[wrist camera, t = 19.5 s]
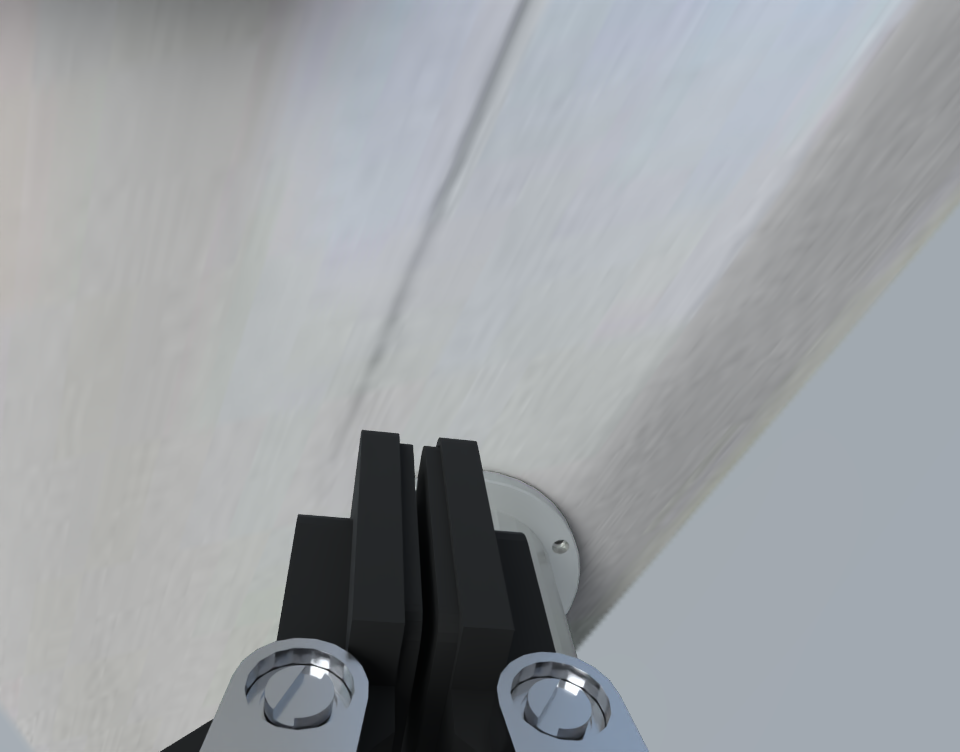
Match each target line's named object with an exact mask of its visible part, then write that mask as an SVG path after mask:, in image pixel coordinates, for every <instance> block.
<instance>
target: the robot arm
mask: <svg viewBox="0 0 960 752" xmlns="http://www.w3.org/2000/svg"><path fill="white" fill-rule="evenodd" d="M579 578H580V561H579V552H578V549H577V546H576V543H575V539H574V536H573V534H572V531H571V529H570V527H569V525H568V523H567V521H566V519H565V517H564V516H563V515H562V513H561V512H560V511H559V510H558V508H557V507H556V506H555V504H554V503H553V502H552V501H550V500H549V499H548V498H547V497H546V496H544V495H543V494H542V493H541V492H540V491H538V490H537V489H535V488H533V487H531V486H529V485H528V484H526V483H524V482H522V481H520V480H518V479H515V478H512V477H509V476H506V475H503V474H499V473H496V472H489V471H483V470H482V465H481V460H480V455H479V450H478V445H477V442H476V441H469V440H459V439H449V438H439V439H438V442H437V445H436V447H431V446H424V447H423V450H422V455H421V461H420V467H419V474H418V478H415V471H414V454H413V445H410V444H400V437H399V434H398V433H388V432H378V431H368V430H362V431H361V438H360V445H359V453H358V461H357V469H356V477H355V485H354V493H353V501H352V509H351V517H350V518H338V517H326V516H313V515H301V514H298V517H297V522H296V528H295V534H294V540H293V546H292V552H291V558H290V564H289V570H288V576H287V582H286V588H285V594H284V600H283V606H282V612H281V618H280V624H279V630H278V636H277V641H275V642H273V643H270V644H268V645H266V646H263V647H261V648H259V649H257V650H255V651H254V652H253V653H252V654H250V655H249V656H248V657H246V658H245V659H244V660H243V661H242V662H241V663H240V665H239V666H238V668H237V669H236V671H235V672H234V674H233V675H232V678H231V680H230V682H229V685H228V687H227V689H226V692H225V694H224V696H223V698H222V701H221V703H220V705H219V708H218V710H217V712H216V715H215V717H214V719H212V720H211V721H209V722H207V723H206V724H204V725H203V726H201V727H199V728H198V729H196V730H195V731H193V732H191V733H190V734H188V735H186V736H185V737H183V738H182V739H180V740H178V741H177V742H175V743H173V744H172V745H170V746H169V747H167V748H165V749H164V750H162V751H160V752H649V751H648V749H647V747H646V745H645V743H644V741H643V739H642V737H641V735H640V733H639V731H638V729H637V728H636V726H635V724H634V722H633V720H632V718H631V716H630V714H629V712H628V710H627V708H626V706H625V704H624V702H623V700H622V698H621V696H620V694H619V693H618V691H617V690H616V689H615V687H614V686H613V684H612V683H611V682H610V680H609V679H608V678H607V677H605V676H604V675H603V674H602V673H601V672H599V671H598V670H597V669H596V668H594V667H593V666H591V665H589V664H587V663H585V662H584V661H581V660H580V659H578V658H577V654H576V651H575V647H574V644H573V640H572V637H571V633H570V630H569V626H568V623H567V619H566V615H567V613H568V611H569V610H570V608H571V606H572V603H573V601H574V598H575V596H576V593H577V591H578V584H579Z"/></svg>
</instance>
